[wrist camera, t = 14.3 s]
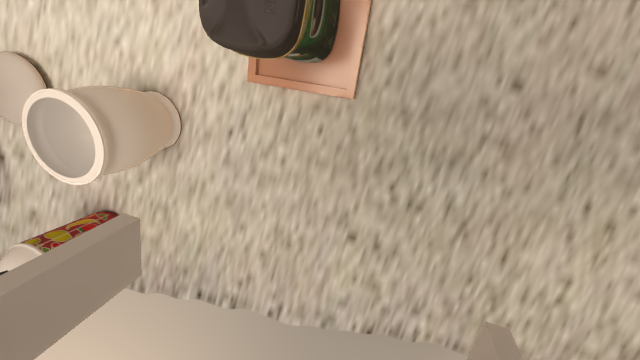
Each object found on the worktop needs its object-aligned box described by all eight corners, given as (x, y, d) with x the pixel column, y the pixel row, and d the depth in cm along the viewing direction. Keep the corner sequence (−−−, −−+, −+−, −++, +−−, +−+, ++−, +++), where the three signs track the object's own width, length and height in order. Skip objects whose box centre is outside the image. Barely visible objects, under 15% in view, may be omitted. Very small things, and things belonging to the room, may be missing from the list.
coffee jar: (280, -29, 37) (182, -119, 20) (346, -22, 35) (303, -110, 18) (272, 58, 40) (183, 47, 23) (332, 68, 39) (285, 64, 22)
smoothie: (131, 252, 57) (8, 338, 39) (92, 237, 58) (-47, 313, 40) (134, 214, 54) (1, 286, 36) (92, 198, 55) (-58, 260, 37)
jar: (200, 139, 47) (120, 166, 33) (151, 163, 50) (59, 197, 36) (164, 71, 45) (61, 70, 31) (115, 101, 48) (2, 112, 34)
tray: (380, -49, 35) (380, -55, 33) (354, 98, 40) (353, 99, 39) (262, -60, 37) (256, -67, 35) (253, 81, 42) (247, 81, 41)
